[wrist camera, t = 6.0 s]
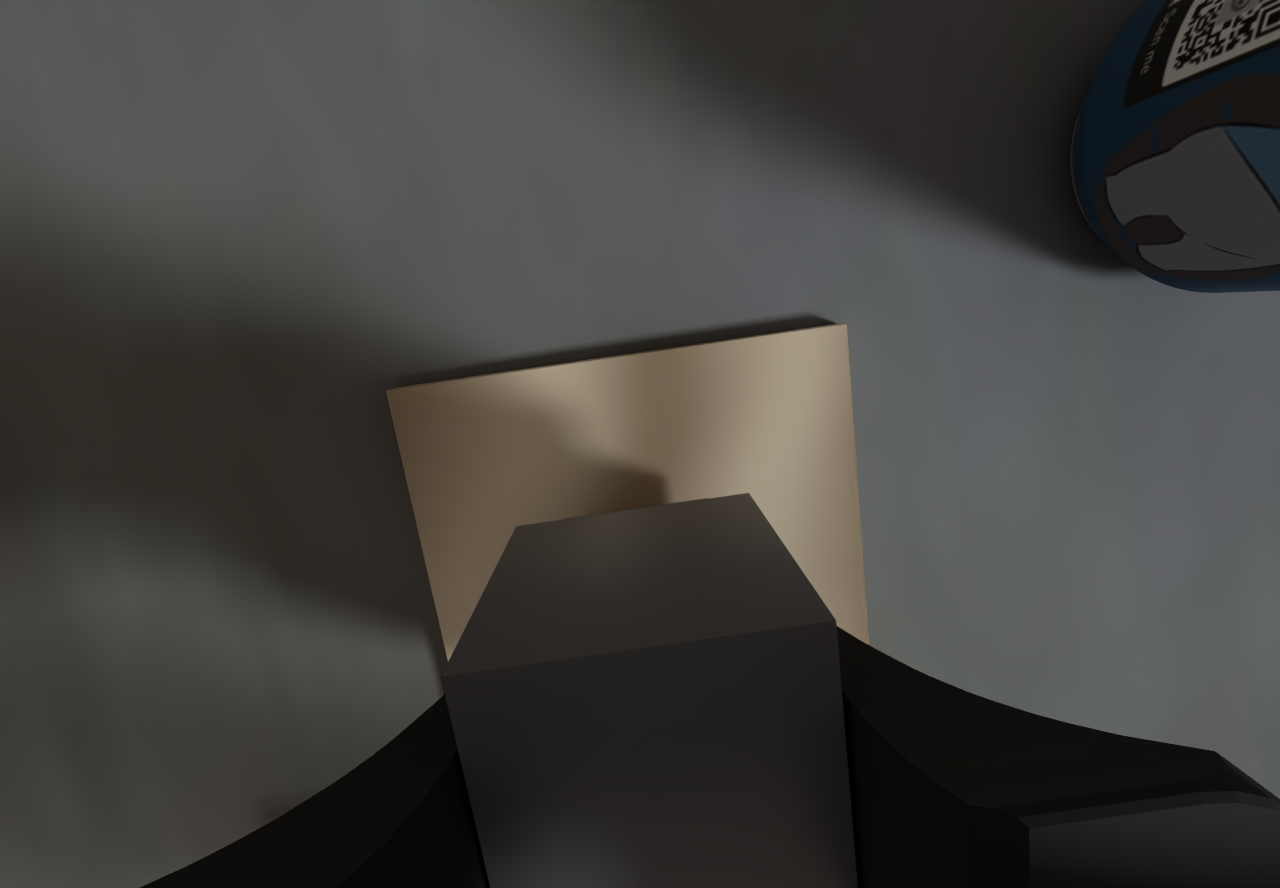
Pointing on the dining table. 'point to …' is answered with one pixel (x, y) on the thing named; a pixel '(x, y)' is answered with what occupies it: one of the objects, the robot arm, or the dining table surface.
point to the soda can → (1187, 145)
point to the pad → (639, 454)
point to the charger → (654, 707)
